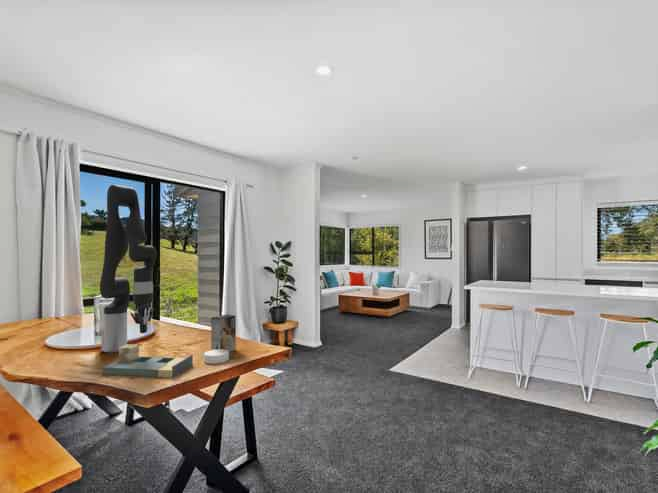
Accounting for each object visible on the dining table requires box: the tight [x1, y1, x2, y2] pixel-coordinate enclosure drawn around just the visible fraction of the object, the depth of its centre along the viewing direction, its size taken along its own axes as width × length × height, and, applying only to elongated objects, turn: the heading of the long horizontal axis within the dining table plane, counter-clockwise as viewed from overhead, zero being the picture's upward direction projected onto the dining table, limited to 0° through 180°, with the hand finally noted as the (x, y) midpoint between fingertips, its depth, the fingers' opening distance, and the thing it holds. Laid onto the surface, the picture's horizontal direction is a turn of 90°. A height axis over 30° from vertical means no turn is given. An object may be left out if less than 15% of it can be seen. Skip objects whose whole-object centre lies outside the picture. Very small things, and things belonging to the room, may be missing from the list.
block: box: [118, 343, 140, 361], centre depth 140 cm, size 5×5×5 cm
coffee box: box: [210, 314, 237, 353], centre depth 159 cm, size 9×6×16 cm
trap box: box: [101, 354, 194, 378], centre depth 135 cm, size 28×14×4 cm, turn 84°
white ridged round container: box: [203, 349, 230, 365], centre depth 147 cm, size 10×10×4 cm
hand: (143, 332), depth 148 cm, fingers closed
